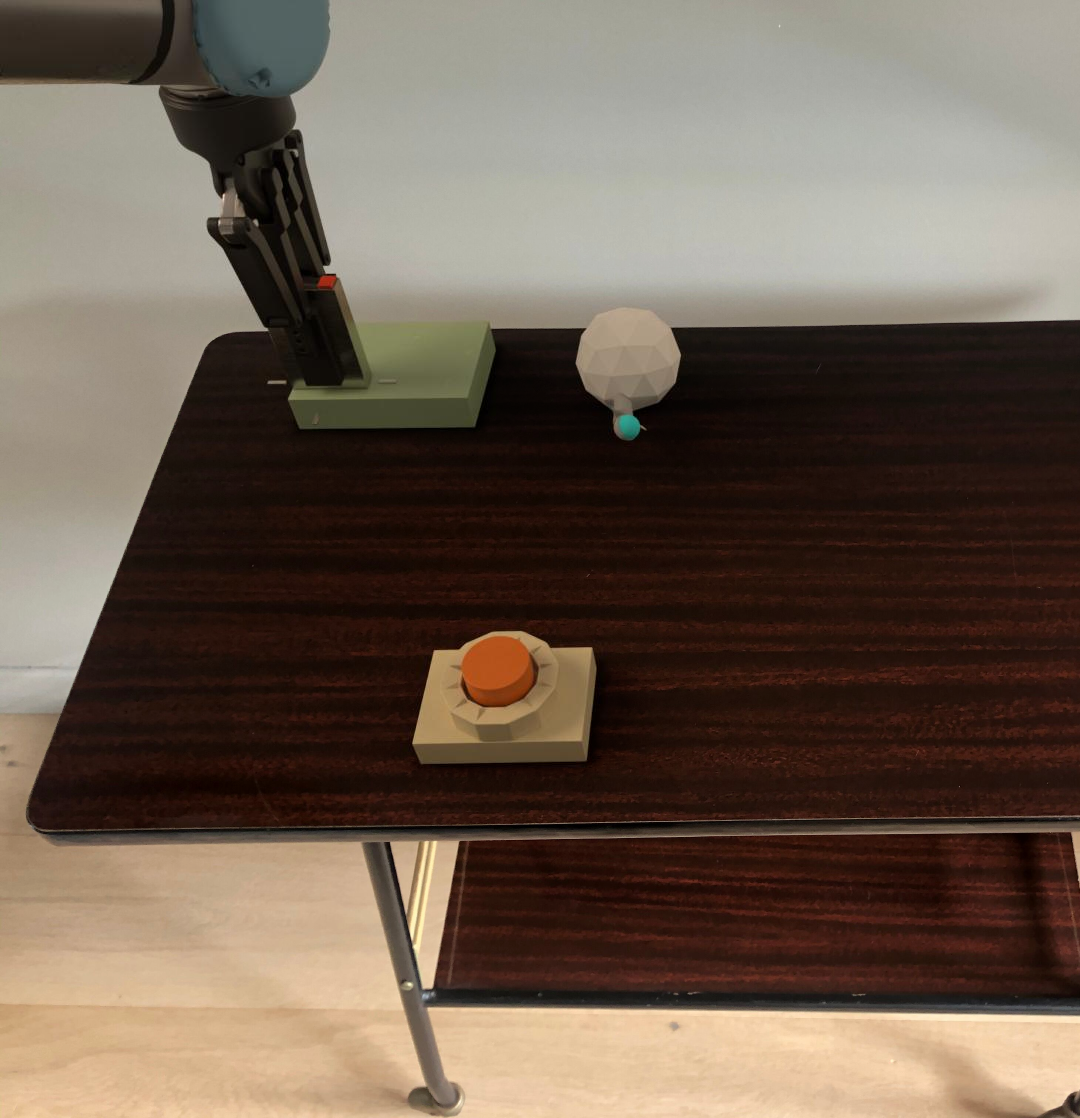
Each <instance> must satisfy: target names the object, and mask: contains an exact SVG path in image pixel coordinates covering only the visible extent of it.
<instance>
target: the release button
mask: <svg viewBox="0 0 1080 1118" xmlns="http://www.w3.org/2000/svg"><path fill="white" fill-rule="evenodd" d="M461 670H462V675H463V677H464V680H465V683H466V686H467V689H468V692H469V694H470V695H471V697H472V698H473V699H474V700H475V701H477V702H478V703H480V704H482V705H485V706H490V707H501V706H506V705H509V704H512V703H514V702H516V701H518V700H519V699H521V698H522V697H523V696H524V695H525V694H526V693H527V692H528V691H529V690H530V688H531V686H532V684H533V681H534V670H533V666H532V662H531V659H530V655H529V652H528V649H527V648H526V646H525V645H524V644H523V643H522V642H520V641H519V640H517V639H515V638H512V637H507V636H495V637H490V638H487V639H484V640H482V641H480V642H478V643H476V644H475V645H474V646H472V647H471V648H470V649H469V650H468V652H467V653H466V654H465V656H464V658H463V661H462V666H461Z"/></svg>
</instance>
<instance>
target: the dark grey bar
mask: <svg viewBox="0 0 1080 1118" xmlns="http://www.w3.org/2000/svg"><path fill="white" fill-rule="evenodd" d="M336 276H337V275H336ZM336 276H322V277H321V278H302V281H303V284H304V287H305V290H306V294H307V297H308V300H309V303H310V306H311V309H318V310H319V313H320V315H321V318H322V321H323V324H324V326H325V329H326V332H327V335H328V338H329V340H330V343H331V346H332V349H333V351H334V354H335V357H336V360H337V363H338V365H339V368H340V371H341V374H342V376H343V379H344V380H343V383H342V385H341V386H306V384H305V381H304V379H303V376H302V374H301V371H300V368H299V366H298V363H297V361H296V358H295V356H294V353H293V351H292V348H291V346H290V343H289V340H288V338H287V335H286V333H285V330H284V328H266V329H267V331H268V333H269V336H270V339H271V341H272V344H273V346H274V348H275V351H276V354H277V356H278V358H279V360H280V363H281V365H282V368H283V370H284V373H285V376H286V378H287V380H288V383H289V385H290V388H291V389H336V388H368V386H369V383H370V381H371V378H372V373H371V370H370V367H369V364H368V361H367V358H366V355H365V352H364V349H363V346H362V343H361V340H360V337H359V334H358V331H357V328H356V325H355V323H356V322H355V319H354V316H353V314H352V311H351V308H350V304H349V302H348V298H347V296H346V292H345V290H344V286H343V284H342V280H341V277H337V278H336Z"/></svg>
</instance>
